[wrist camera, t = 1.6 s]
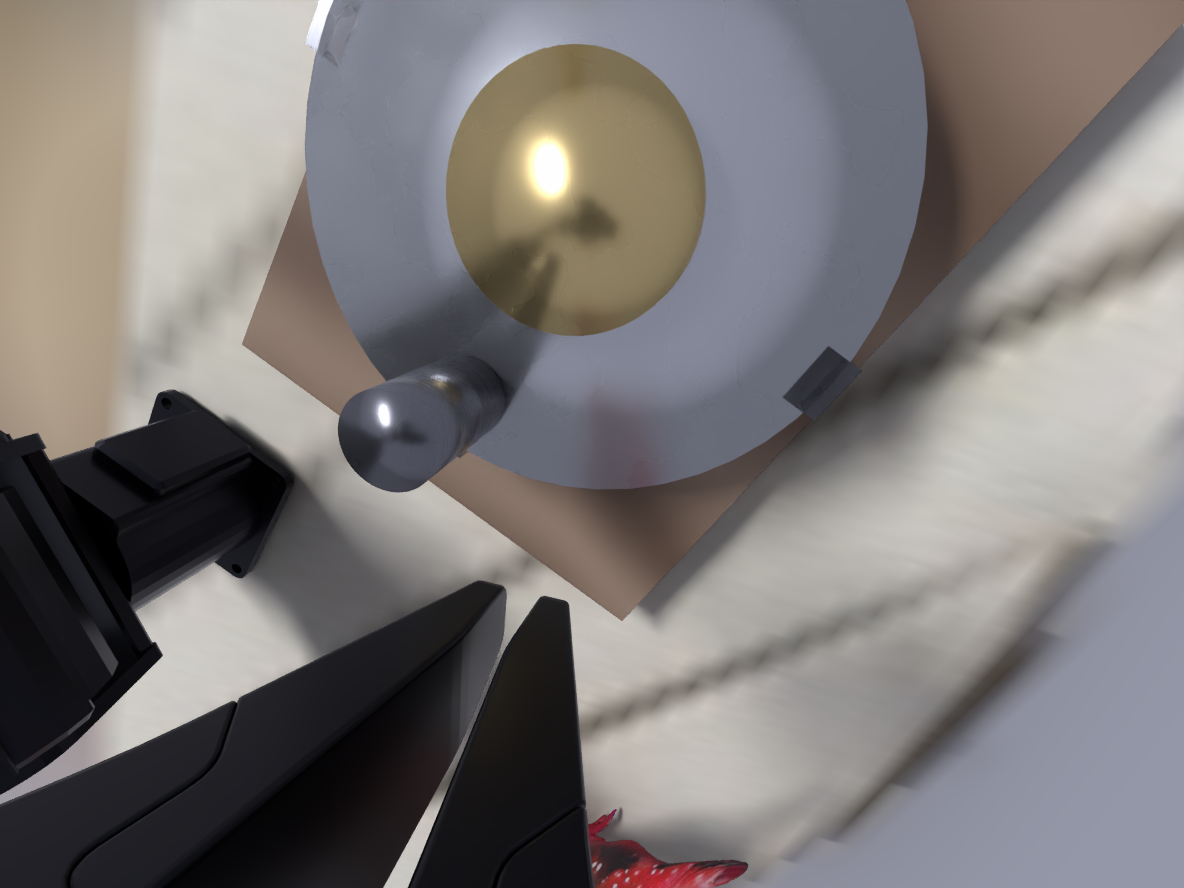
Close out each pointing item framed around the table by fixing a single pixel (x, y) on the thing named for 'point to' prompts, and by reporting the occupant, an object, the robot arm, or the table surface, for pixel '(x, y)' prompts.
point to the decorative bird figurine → (651, 866)
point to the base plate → (940, 240)
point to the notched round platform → (607, 223)
